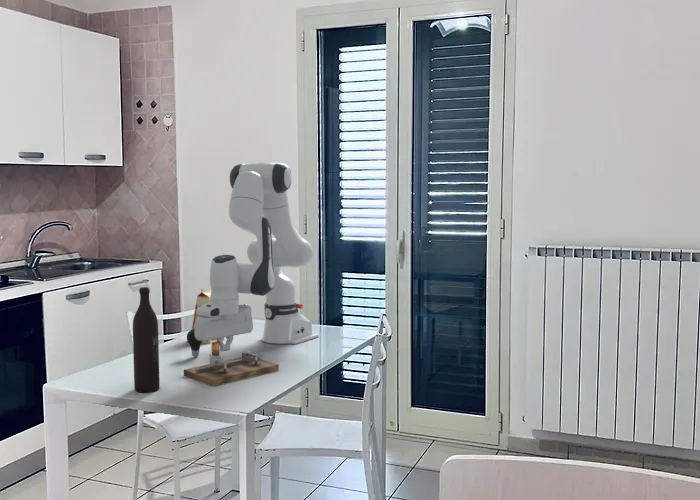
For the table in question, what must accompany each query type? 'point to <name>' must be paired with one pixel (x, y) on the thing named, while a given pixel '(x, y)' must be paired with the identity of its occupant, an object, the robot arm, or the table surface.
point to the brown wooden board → (231, 372)
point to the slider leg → (216, 355)
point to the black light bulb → (193, 343)
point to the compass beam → (232, 362)
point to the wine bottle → (145, 346)
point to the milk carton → (201, 300)
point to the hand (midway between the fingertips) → (225, 350)
